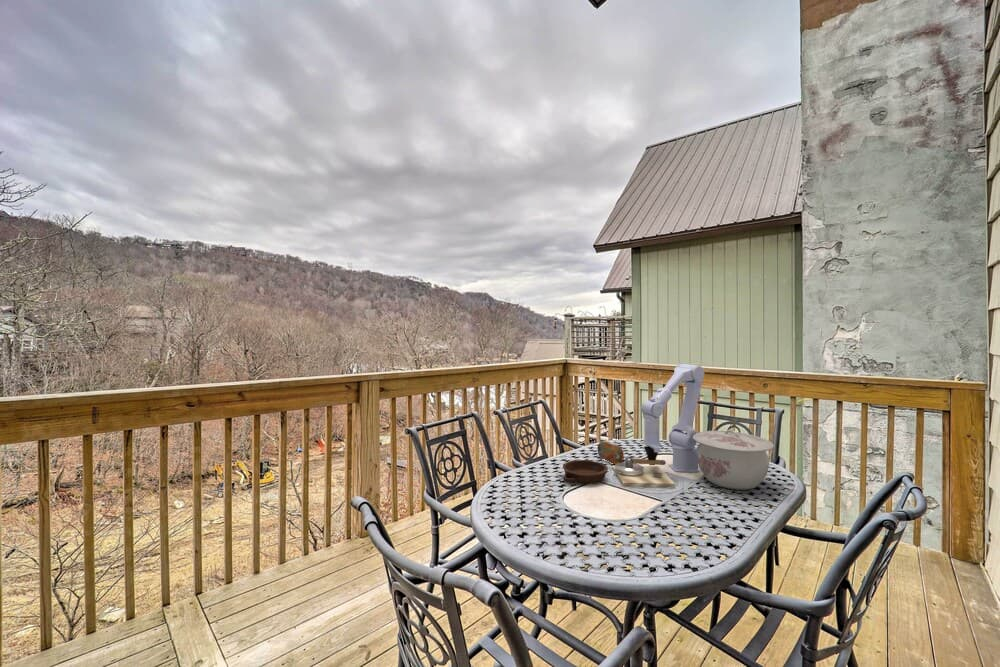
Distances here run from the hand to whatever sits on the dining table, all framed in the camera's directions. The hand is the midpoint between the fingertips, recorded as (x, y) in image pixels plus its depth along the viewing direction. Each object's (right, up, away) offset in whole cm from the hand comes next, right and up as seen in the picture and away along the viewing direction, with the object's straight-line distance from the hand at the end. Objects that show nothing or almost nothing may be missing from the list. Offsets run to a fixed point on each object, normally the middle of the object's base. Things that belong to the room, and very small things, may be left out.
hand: (651, 464), depth 174 cm
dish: (-27, -5, -3) cm, 28 cm away
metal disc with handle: (-5, -3, -1) cm, 6 cm away
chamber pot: (+28, -5, -8) cm, 29 cm away
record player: (-5, -4, -2) cm, 7 cm away
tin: (-12, -4, +17) cm, 22 cm away
